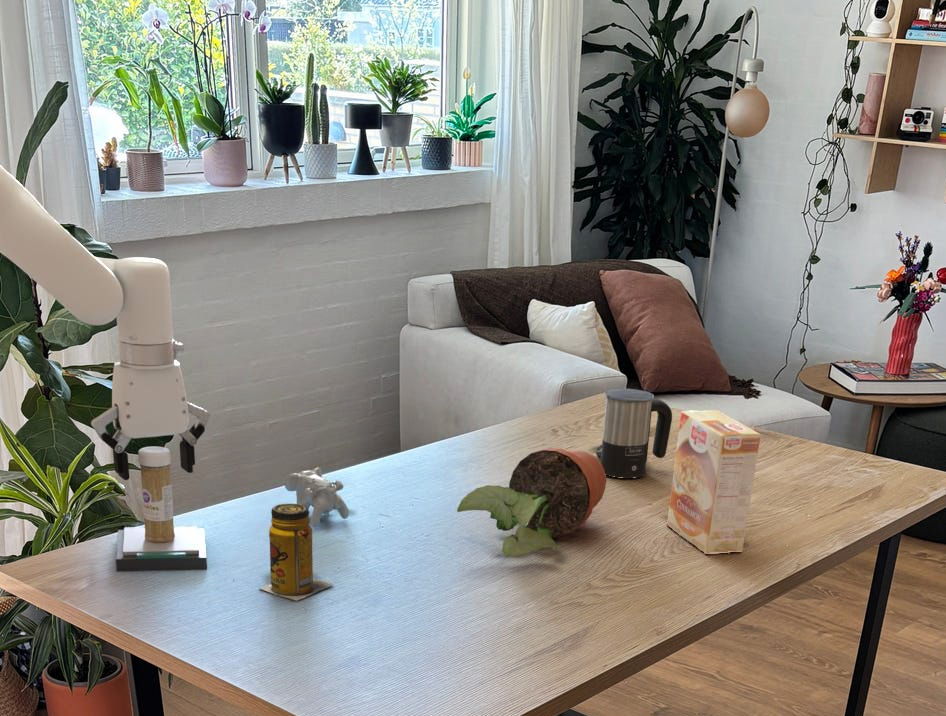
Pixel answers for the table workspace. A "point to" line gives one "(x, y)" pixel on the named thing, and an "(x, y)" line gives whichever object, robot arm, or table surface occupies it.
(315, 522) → the elephant statuette
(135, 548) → the kitchen scale
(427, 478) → the table surface
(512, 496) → the potted plant
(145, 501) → the sprinkles bottle
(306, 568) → the condiment
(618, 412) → the milk frother
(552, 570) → the table surface
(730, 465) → the coffeecake box
